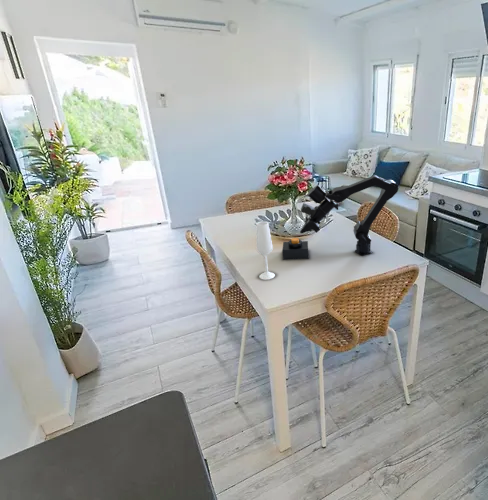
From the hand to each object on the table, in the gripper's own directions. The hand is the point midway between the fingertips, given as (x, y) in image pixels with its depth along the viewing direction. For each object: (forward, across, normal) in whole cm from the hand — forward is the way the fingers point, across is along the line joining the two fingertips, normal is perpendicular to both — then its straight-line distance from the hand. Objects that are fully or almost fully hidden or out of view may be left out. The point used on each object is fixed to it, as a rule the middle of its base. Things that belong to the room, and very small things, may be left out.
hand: (300, 232), depth 166 cm
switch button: (+6, 0, +2) cm, 6 cm away
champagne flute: (+19, +21, -2) cm, 28 cm away
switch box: (+10, 0, +6) cm, 12 cm away
